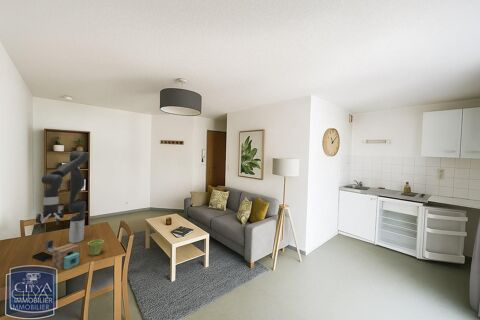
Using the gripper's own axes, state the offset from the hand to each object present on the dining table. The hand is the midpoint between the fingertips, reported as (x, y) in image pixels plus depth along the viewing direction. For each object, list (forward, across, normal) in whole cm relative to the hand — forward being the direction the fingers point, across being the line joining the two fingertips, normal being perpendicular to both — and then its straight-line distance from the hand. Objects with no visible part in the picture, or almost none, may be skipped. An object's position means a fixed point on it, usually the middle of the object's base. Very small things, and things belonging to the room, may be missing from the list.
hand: (49, 226), depth 134 cm
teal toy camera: (+22, 0, +25) cm, 33 cm away
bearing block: (+22, 0, +19) cm, 29 cm away
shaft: (+16, 0, +9) cm, 18 cm away
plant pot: (+22, -17, +22) cm, 35 cm away
